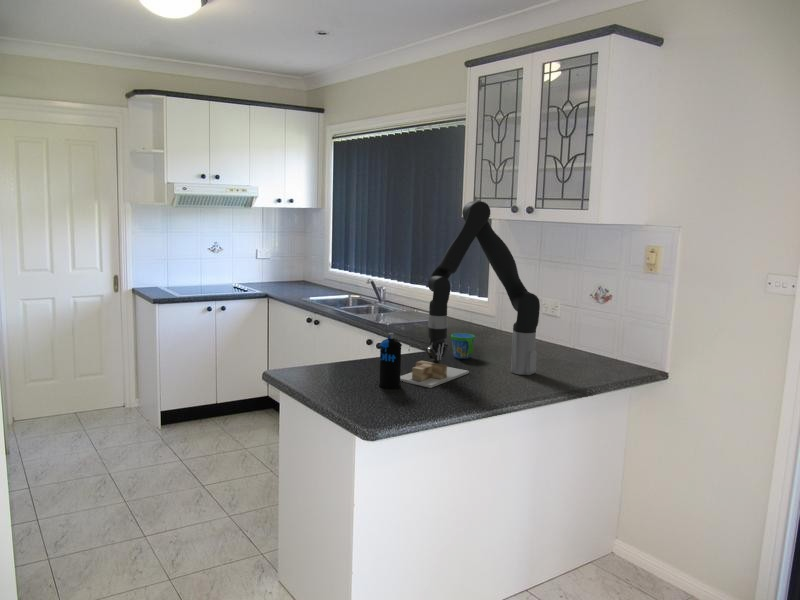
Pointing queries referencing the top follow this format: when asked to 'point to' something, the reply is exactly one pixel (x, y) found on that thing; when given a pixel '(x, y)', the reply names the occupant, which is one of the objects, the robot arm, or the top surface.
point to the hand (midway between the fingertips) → (436, 368)
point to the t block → (428, 370)
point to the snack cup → (462, 345)
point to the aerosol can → (390, 363)
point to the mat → (433, 381)
